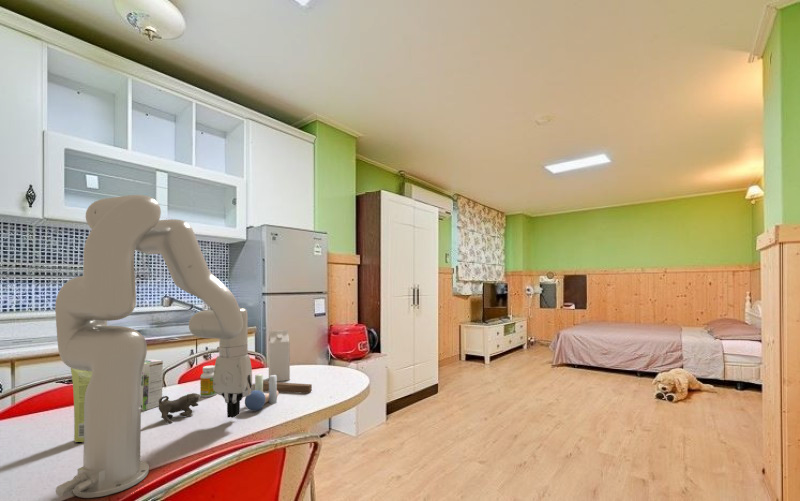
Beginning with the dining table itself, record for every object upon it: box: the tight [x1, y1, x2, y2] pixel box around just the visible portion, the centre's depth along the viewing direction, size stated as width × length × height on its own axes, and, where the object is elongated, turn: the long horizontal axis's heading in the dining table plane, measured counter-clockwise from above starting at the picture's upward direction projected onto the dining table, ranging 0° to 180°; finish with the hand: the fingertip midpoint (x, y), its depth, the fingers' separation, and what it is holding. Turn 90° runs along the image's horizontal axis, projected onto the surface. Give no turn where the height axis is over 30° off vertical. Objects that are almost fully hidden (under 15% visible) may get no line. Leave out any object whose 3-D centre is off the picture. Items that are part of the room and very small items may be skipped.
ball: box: [244, 389, 266, 412], centre depth 120 cm, size 6×6×6 cm
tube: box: [70, 368, 92, 443], centre depth 102 cm, size 6×5×20 cm
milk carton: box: [268, 329, 291, 382], centre depth 154 cm, size 7×7×19 cm
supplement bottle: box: [199, 364, 217, 398], centre depth 136 cm, size 5×5×10 cm
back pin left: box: [254, 373, 264, 393], centre depth 128 cm, size 2×2×8 cm
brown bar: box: [263, 381, 313, 394], centre depth 139 cm, size 2×20×2 cm, turn 76°
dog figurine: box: [158, 392, 201, 424], centre depth 116 cm, size 12×6×7 cm, turn 143°
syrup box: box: [141, 358, 164, 411], centre depth 125 cm, size 6×6×14 cm
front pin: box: [264, 391, 279, 404], centre depth 129 cm, size 2×2×8 cm
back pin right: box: [268, 375, 278, 405], centre depth 127 cm, size 2×2×8 cm
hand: (233, 415), depth 112 cm, fingers closed
